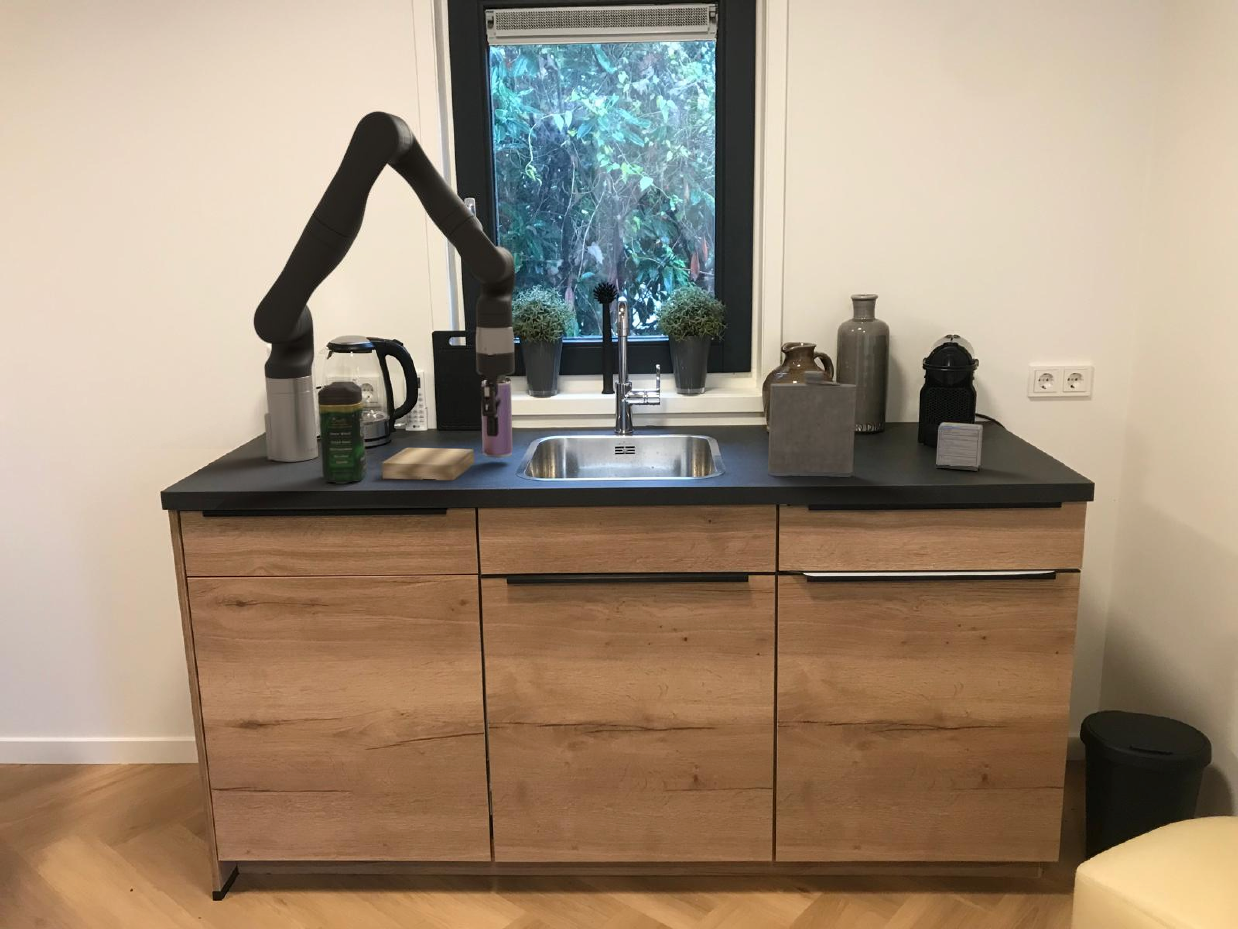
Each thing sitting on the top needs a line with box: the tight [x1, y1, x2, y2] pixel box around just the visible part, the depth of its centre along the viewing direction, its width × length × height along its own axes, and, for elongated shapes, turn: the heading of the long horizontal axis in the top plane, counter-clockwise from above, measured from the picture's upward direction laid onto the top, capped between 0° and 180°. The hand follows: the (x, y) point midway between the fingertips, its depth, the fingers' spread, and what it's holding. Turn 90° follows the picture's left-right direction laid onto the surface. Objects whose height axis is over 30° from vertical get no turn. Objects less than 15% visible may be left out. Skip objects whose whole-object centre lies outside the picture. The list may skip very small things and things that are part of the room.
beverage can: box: [480, 379, 513, 459], centre depth 205 cm, size 6×6×15 cm
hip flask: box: [767, 370, 857, 473], centre depth 194 cm, size 16×4×20 cm, turn 84°
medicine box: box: [935, 421, 984, 467], centre depth 199 cm, size 8×4×9 cm, turn 65°
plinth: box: [381, 447, 475, 481], centre depth 200 cm, size 14×14×3 cm
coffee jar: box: [317, 381, 367, 484], centre depth 193 cm, size 10×8×19 cm
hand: (497, 432), depth 205 cm, fingers closed on beverage can, 6 cm apart
